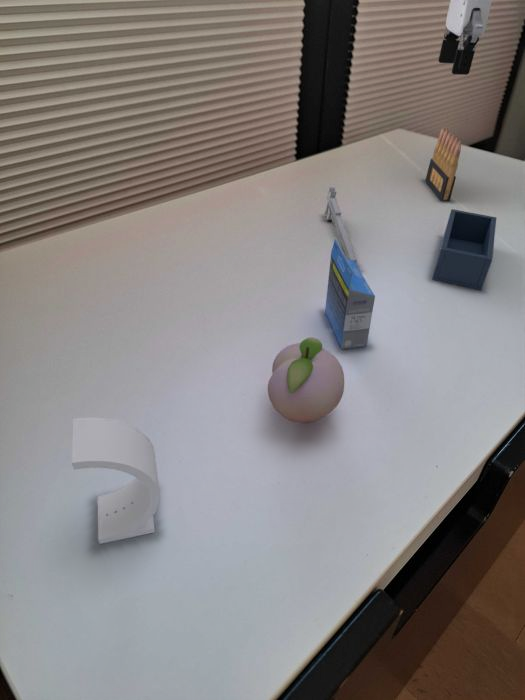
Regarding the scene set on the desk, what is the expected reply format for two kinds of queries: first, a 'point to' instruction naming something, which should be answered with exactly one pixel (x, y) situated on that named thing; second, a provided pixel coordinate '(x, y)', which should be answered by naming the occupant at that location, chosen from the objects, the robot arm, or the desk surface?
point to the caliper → (338, 223)
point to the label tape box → (348, 301)
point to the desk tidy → (466, 249)
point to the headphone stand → (124, 455)
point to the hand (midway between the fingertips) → (452, 68)
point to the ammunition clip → (444, 165)
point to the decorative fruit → (305, 382)
